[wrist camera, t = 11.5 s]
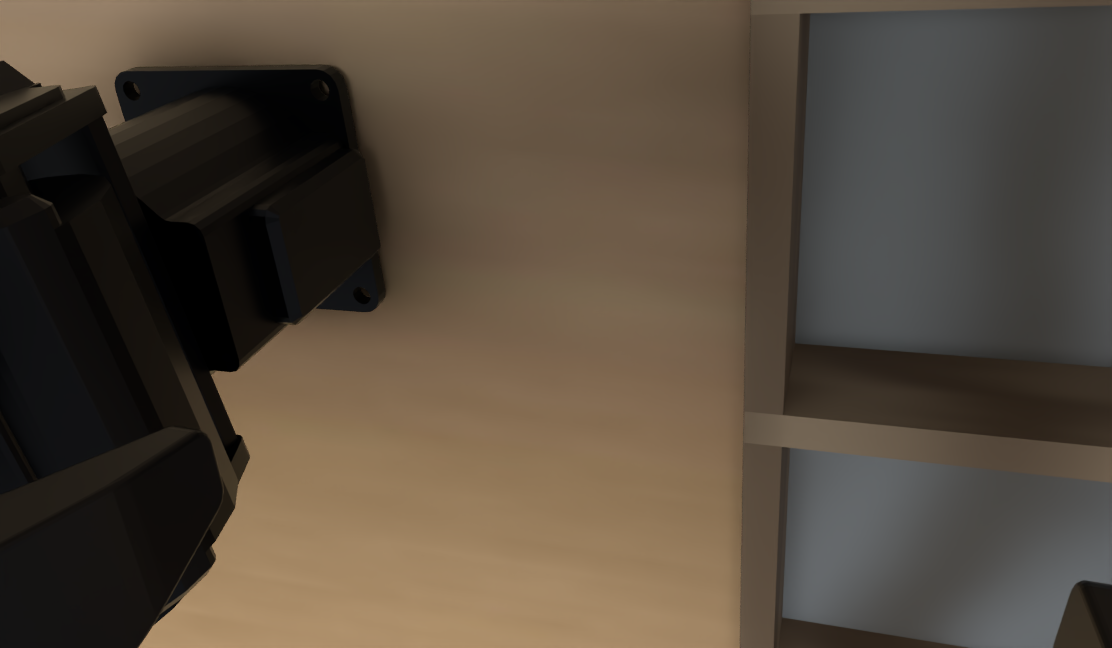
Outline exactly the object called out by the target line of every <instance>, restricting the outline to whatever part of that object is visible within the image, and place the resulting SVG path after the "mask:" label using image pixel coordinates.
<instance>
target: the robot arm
mask: <svg viewBox="0 0 1112 648" xmlns="http://www.w3.org/2000/svg"><path fill="white" fill-rule="evenodd" d="M319 80H322V81H323V82H325V83H326V84H327V86H328V88H329V96H327V95H325V94H324V93H322V92H321V90H320V88H319ZM134 83H135V84H136V85H137V86H138V88H139V90H140V94H138V93H137V92H136V90H135V88H134ZM115 89H116V93H117V96H118V100H119V103H120V106H121V109H122V113H123V116H124V119H125V122H124V123H122V124H119V125H117V126H115V127H113V128H110V129H108V128H107V126H106V124H105V121H104V119H103V115H104V114H106V113H107V111H106V109H105V107H104V104H103V102H102V99H101V97H100V95H99V92H98V90H97V87H96V86H95V85H94V86H87V87H81V88H75V89H69V90H62V89H61V86H60V85H55V86H45V87H42V86H41V83H36V84H35V83H33V82H32V81H31V80H29V79H28V78H26V77H25V76H24V75H22V74H21V73H20V72H18V71H17V70H16V69H14V68H13V67H11V66H10V65H9V64H7V63H6V62H5V61H0V648H138V647H139V646H140V644H141V643H142V642H143V640H144V639H145V637H146V636H147V634H148V633H149V631H150V630H151V628H152V626H153V625H154V624H156V623H157V622H158V621H159V620H160V619H161V618H163V617H164V616H165V615H166V614H167V613H168V612H170V611H171V610H172V609H173V608H174V607H175V606H176V605H177V604H178V603H179V601H180V600H181V599H182V598H183V597H184V596H185V595H186V594H187V593H188V592H189V591H190V590H191V589H192V588H193V587H194V586H195V585H196V584H197V583H198V582H199V581H201V580H202V579H203V578H204V577H205V576H206V575H207V573H208V572H209V570H210V568H211V567H212V565H213V564H214V562H215V560H216V555H215V553H214V550H213V548H212V544H213V543H214V542H215V541H216V539H217V537H218V536H219V534H220V532H221V531H222V529H223V527H224V526H225V524H226V522H227V521H228V519H229V517H230V515H231V514H232V512H233V510H234V509H235V504H236V496H237V488H238V484H239V481H240V479H241V477H242V474H243V472H244V470H245V468H246V465H247V463H248V461H249V459H250V455H249V452H248V450H247V448H246V445H245V443H244V440H243V438H242V436H241V435H236V434H235V431H234V429H233V426H232V424H231V422H230V419H229V417H228V415H227V412H226V410H225V407H224V405H223V403H222V400H221V398H220V395H219V393H218V391H217V388H216V386H215V384H214V381H213V379H212V376H211V375H212V374H213V373H214V372H215V371H226V372H234V371H237V370H238V369H239V368H240V367H241V366H243V365H244V364H245V363H246V362H247V361H248V360H249V359H250V358H251V357H253V356H254V355H255V354H256V353H257V352H258V351H259V350H260V349H262V348H263V347H264V346H265V345H266V344H267V343H268V342H269V341H270V340H272V339H273V338H274V337H275V336H276V335H277V334H278V333H279V332H281V331H282V330H283V329H284V328H285V327H286V326H287V325H288V324H290V325H296V324H299V323H300V322H301V321H302V320H303V319H304V318H305V317H307V316H308V315H309V314H310V313H311V312H312V311H313V310H314V309H315V308H317V309H330V310H343V311H356V312H370V311H373V310H374V309H375V308H377V307H378V306H379V305H380V304H381V303H382V302H383V300H384V298H385V286H384V281H383V276H382V270H381V265H380V260H379V255H378V250H379V248H380V239H379V234H378V229H377V223H376V218H375V213H374V207H373V202H372V197H371V191H370V186H369V181H368V175H367V170H366V165H365V160H364V158H363V156H362V155H361V154H360V152H359V149H358V144H357V139H356V133H355V128H354V123H353V118H352V112H351V107H350V102H349V97H348V91H347V86H346V83H345V80H344V78H343V77H342V75H341V74H340V73H339V71H337V70H336V69H334V68H333V67H331V66H326V65H285V66H204V67H136V68H132V69H129V70H126V71H124V72H121V73H119V75H118V76H117V77H116V80H115ZM360 287H362V288H365V289H366V290H367V291H368V292H369V294H370V297H367V296H365V295H364V294H363V293H362V291H361V289H360ZM1053 648H1112V585H1111V584H1105V583H1099V582H1093V581H1087V580H1082V581H1080V582H1077V583H1076V584H1075V585H1074V587H1073V588H1072V590H1071V592H1070V595H1069V598H1068V601H1067V604H1066V607H1065V610H1064V614H1063V617H1062V620H1061V623H1060V626H1059V629H1058V632H1057V635H1056V638H1055V641H1054V645H1053Z"/></svg>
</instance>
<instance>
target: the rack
mask: <svg viewBox="0 0 1112 648" xmlns="http://www.w3.org/2000/svg"><path fill="white" fill-rule="evenodd" d="M1082 580H1087V581H1093V582H1099V583H1105V584H1111V585H1112V0H751V18H750V77H749V136H748V194H747V253H746V312H745V370H744V429H743V488H742V546H741V605H740V648H1053V645H1054V641H1055V638H1056V635H1057V632H1058V629H1059V626H1060V623H1061V620H1062V617H1063V614H1064V610H1065V607H1066V604H1067V601H1068V598H1069V595H1070V592H1071V590H1072V588H1073V587H1074V585H1075V584H1076V583H1077V582H1080V581H1082Z"/></svg>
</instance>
